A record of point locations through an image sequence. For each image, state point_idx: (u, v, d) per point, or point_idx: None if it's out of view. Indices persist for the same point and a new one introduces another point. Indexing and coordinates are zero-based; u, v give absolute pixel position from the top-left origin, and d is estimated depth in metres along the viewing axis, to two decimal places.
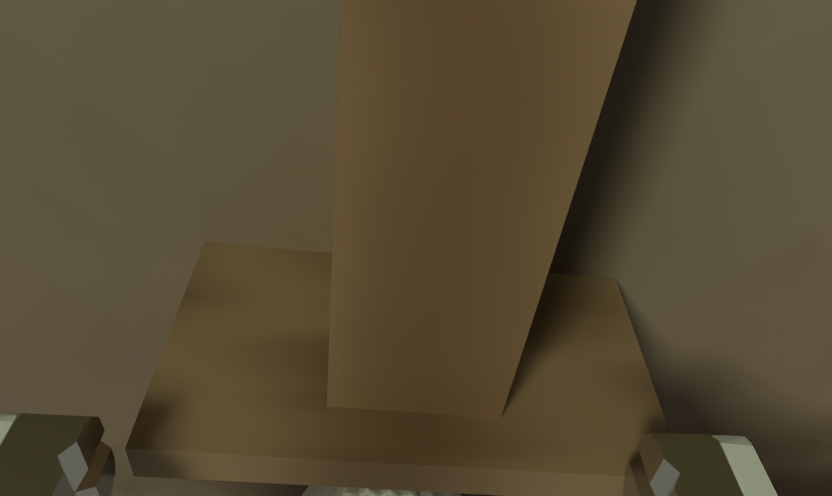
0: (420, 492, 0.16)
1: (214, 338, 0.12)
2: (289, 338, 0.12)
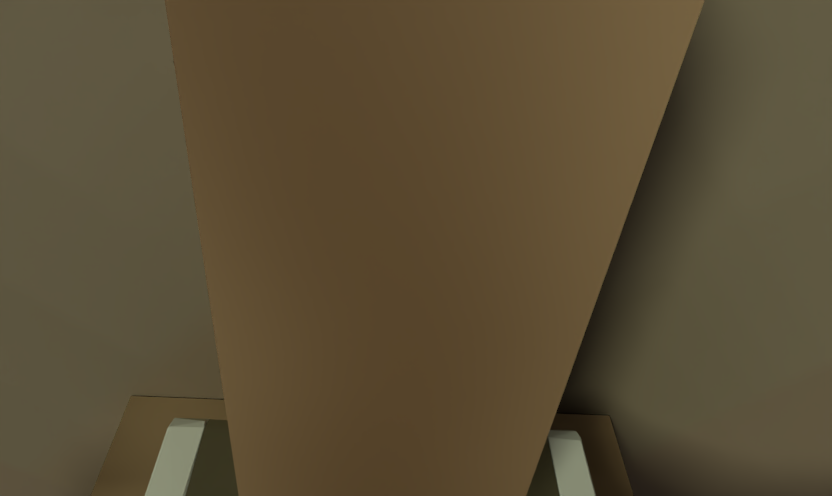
0: None
1: None
2: None
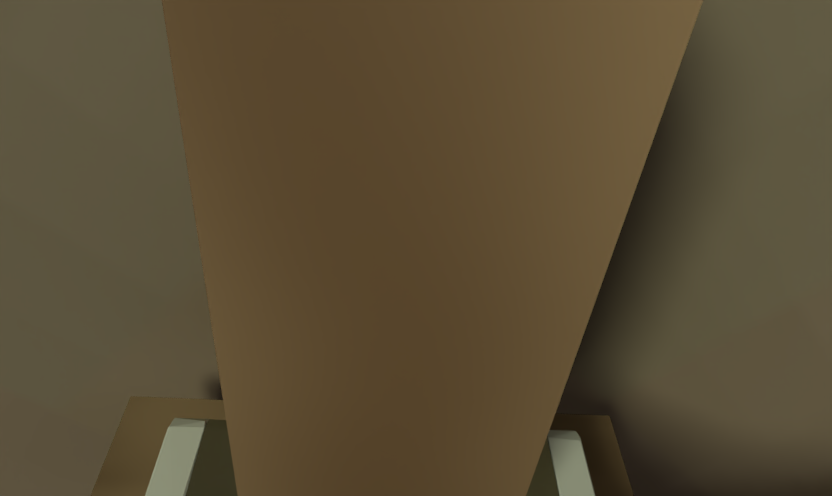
0: None
1: None
2: None
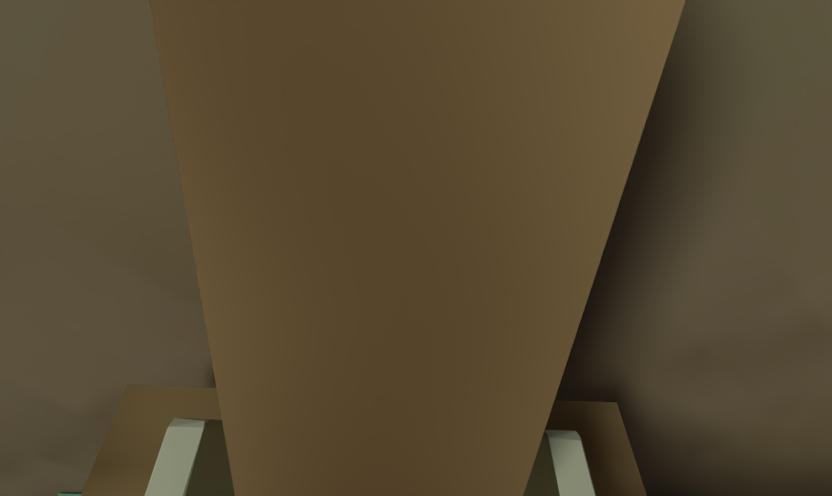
0: None
1: None
2: None
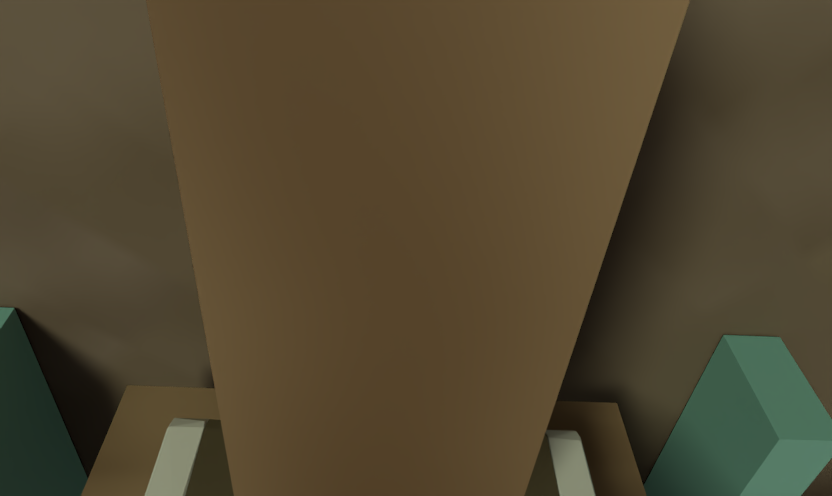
0: None
1: None
2: None
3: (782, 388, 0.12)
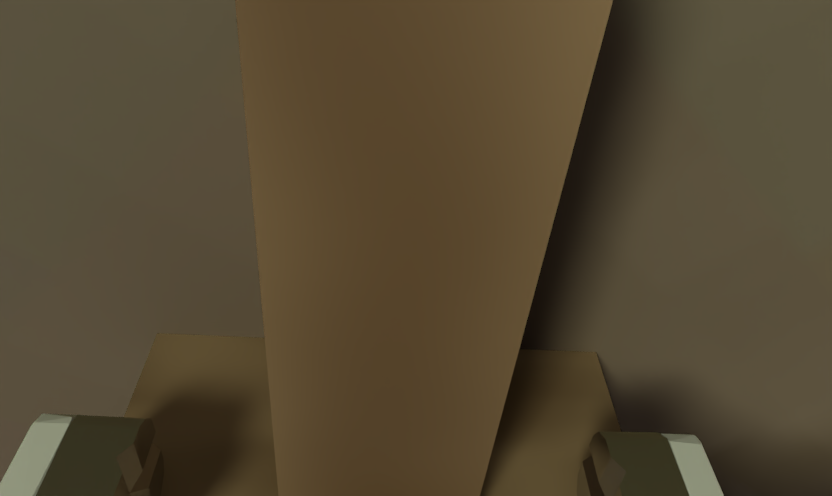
0: None
1: (162, 446, 0.11)
2: (243, 442, 0.11)
3: None
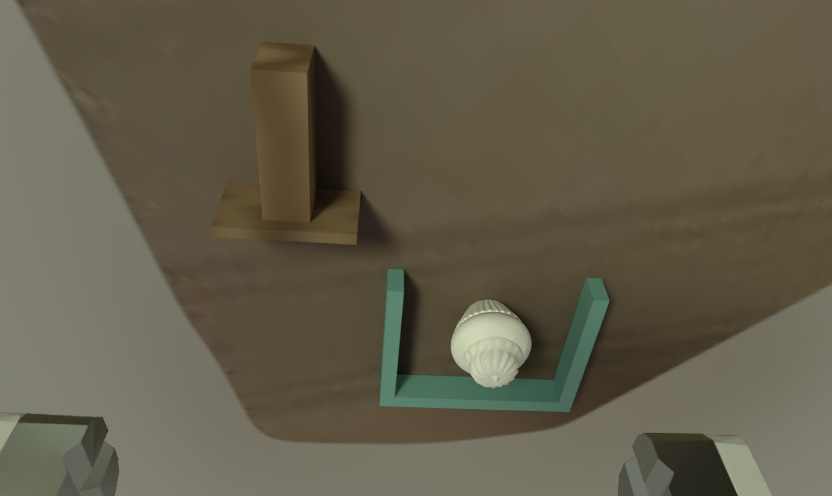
0: (505, 311, 0.49)
1: (231, 205, 0.42)
2: (252, 206, 0.42)
3: (598, 290, 0.49)
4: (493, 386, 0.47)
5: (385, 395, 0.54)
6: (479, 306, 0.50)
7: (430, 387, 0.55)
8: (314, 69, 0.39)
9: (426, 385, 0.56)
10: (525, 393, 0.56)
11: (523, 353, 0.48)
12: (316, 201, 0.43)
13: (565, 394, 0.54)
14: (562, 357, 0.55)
